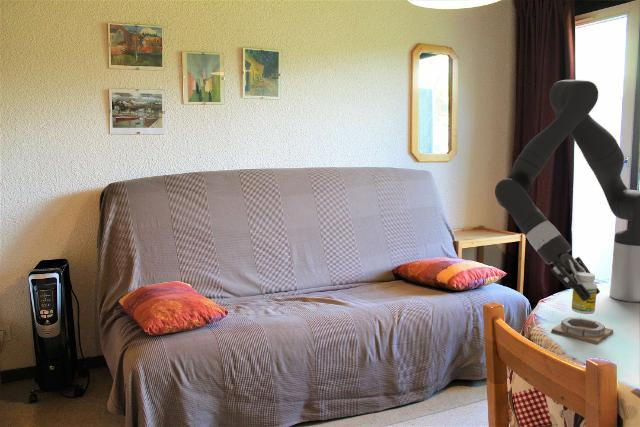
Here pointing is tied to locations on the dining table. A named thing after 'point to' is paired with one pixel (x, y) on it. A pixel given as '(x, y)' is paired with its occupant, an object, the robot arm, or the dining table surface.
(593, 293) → the supplement bottle
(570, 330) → the collar
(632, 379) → the dining table surface
